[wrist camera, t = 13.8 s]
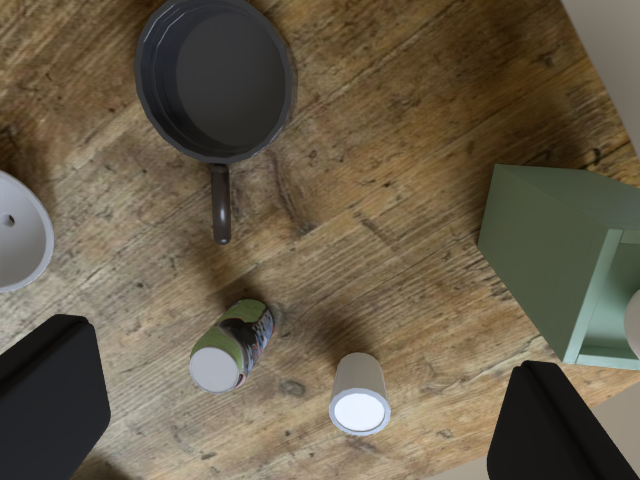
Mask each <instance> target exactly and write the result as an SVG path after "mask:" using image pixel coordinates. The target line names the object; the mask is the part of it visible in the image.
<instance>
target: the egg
mask: <svg viewBox="0 0 640 480" xmlns="http://www.w3.org/2000/svg"><path fill="white" fill-rule="evenodd" d="M624 330H625V333H626V337H627V341H628V343H629V345H630V347H631V349H632V350H633V352H634V353H635V354H636V356H637V357H638V359H639V360H640V290H638V291H637V292H636V293H635V294H634V295H633V296H632V298H631V300H630V301H629V303H628V305H627V306H626V310H625V314H624Z"/></svg>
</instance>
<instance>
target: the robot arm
mask: <svg viewBox="0 0 640 480" xmlns="http://www.w3.org/2000/svg"><path fill="white" fill-rule="evenodd" d="M110 417H111V411H110V406H109V401H108V396H107V391H106V385H105V380H104V375H103V370H102V365H101V359H100V354H99V349H98V344H97V339H96V333H95V329H94V326H93V325H92V324H90V323H89V322H88V320H87V319H86V317H83V316H76V315H65V314H56V315H54V316H52V317H50V318H49V319H48V320H46V321H45V322H44V323H42V324H41V325H40V326H38V327H37V328H36V329H34V330H33V331H32V332H30V333H29V334H28V335H27V336H25V337H24V338H23V339H21V340H20V341H19V342H17V343H16V344H15V345H13V346H12V347H11V348H9V349H8V350H7V351H5V352H4V353H3V354H1V355H0V480H70V478H71V477H72V475H73V474H74V473H75V471H76V470H77V469H78V467H79V466H80V465H81V463H82V462H83V460H84V459H85V458H86V456H87V455H88V454H89V452H90V451H91V450H92V448H93V447H94V445H95V444H96V443H97V441H98V440H99V439H100V437H101V436H102V435H103V433H104V432H105V430H106V429H107V427H108V425H109V422H110ZM487 471H488V475H489V479H490V480H640V479H639V477H638V476H637V475H636V473H635V472H634V470H633V469H632V467H631V466H630V465H629V463H628V462H627V461H626V459H625V458H624V456H623V455H622V454H621V452H620V451H619V449H618V448H617V447H616V445H615V444H614V443H613V441H612V440H611V438H610V437H609V435H608V434H607V433H606V431H605V430H604V429H603V427H602V426H601V424H600V423H599V422H598V420H597V419H596V417H595V416H594V415H593V413H592V412H591V410H590V409H589V408H588V406H587V405H586V403H585V402H584V401H583V399H582V398H581V396H580V395H579V394H578V392H577V391H576V390H575V388H574V387H573V385H572V384H571V383H570V381H569V380H568V378H567V377H566V376H565V374H564V373H563V371H562V370H561V369H560V367H559V366H558V365H557V364H555V363H550V362H540V361H530V360H526V361H524V362H523V363H522V364H521V366H516V367H514V368H513V371H512V373H511V377H510V380H509V384H508V387H507V390H506V394H505V397H504V401H503V404H502V407H501V411H500V414H499V418H498V421H497V424H496V428H495V431H494V435H493V438H492V441H491V445H490V448H489V452H488V455H487Z"/></svg>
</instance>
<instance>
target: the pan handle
mask: <svg viewBox="0 0 640 480" xmlns="http://www.w3.org/2000/svg"><path fill="white" fill-rule="evenodd" d="M210 175H211V194H212V213H213V233H214V240H215V242H216V243H217V244H219V245H226V244H228V243H229V242H230V240H231V212H230V183H229V168H228V166H227V164H222V163H213V164H212V166H211V168H210Z"/></svg>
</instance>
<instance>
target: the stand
mask: <svg viewBox="0 0 640 480" xmlns="http://www.w3.org/2000/svg"><path fill="white" fill-rule="evenodd" d="M477 248H478V249H479V251H480V252H481V253H482V255H483V256H484V258H485V259H486V260H487V262H488V263H489V264H490V266H491V267H492V268H493V270H494V271H495V272H496V274H497V275H498V276H499V278H500V279H501V281H502V282H503V283H504V285H505V286H506V287H507V289H508V290H509V291H510V293H511V294H512V295H513V297H514V298H515V299H516V301H517V302H518V304H519V305H520V306H521V308H522V309H523V310H524V312H525V313H526V314H527V316H528V317H529V318H530V320H531V321H532V322H533V324H534V325H535V326H536V328H537V329H538V331H539V332H540V333H541V335H542V336H543V337H544V339H545V340H546V341H547V343H548V344H549V345H550V347H551V348H552V349H553V351H554V352H555V354H556V355H557V356H558V358H559V359H560V360H561V362H562V363H571V364H580V365H591V366H601V367H611V368H621V369H631V370H640V360H639V359H638V357H637V356H636V354H635V353H634V352H633V350H632V349H631V347H630V345H629V343H628V341H627V337H626V333H625V330H624V314H625V310H626V306H627V305H628V303H629V301H630V300H631V298H632V296H633V295H634V294H635V293H636V292H637V291H638V290H640V189H639V188H636V187H633V186H630V185H628V184H625V183H622V182H619V181H617V180H614V179H611V178H608V177H606V176H603V175H600V174H597V173H595V172H592V171H589V170H578V169H563V168H548V167H534V166H519V165H504V164H495V166H494V170H493V175H492V179H491V184H490V189H489V193H488V198H487V202H486V207H485V211H484V216H483V220H482V225H481V230H480V234H479V239H478V243H477Z"/></svg>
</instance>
